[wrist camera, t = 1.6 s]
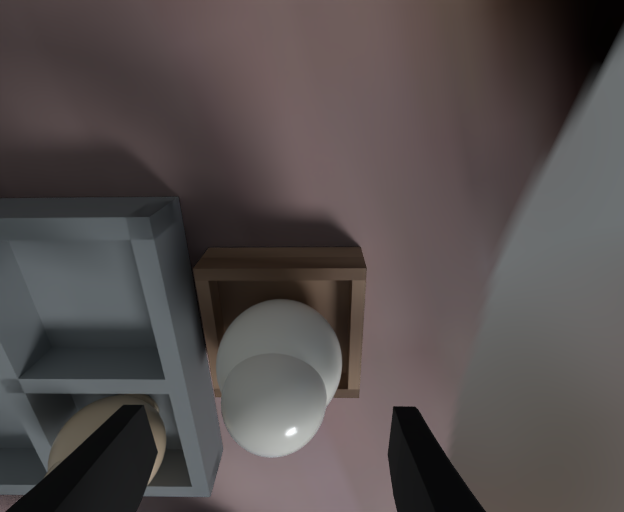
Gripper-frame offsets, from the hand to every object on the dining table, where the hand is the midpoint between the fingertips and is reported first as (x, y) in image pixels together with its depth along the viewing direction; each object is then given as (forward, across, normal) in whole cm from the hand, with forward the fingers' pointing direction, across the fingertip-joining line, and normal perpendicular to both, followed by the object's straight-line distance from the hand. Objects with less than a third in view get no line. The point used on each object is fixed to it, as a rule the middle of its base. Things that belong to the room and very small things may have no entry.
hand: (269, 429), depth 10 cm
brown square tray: (+6, 0, 0) cm, 6 cm away
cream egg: (+5, 0, 0) cm, 5 cm away
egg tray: (+6, +12, +2) cm, 13 cm away
